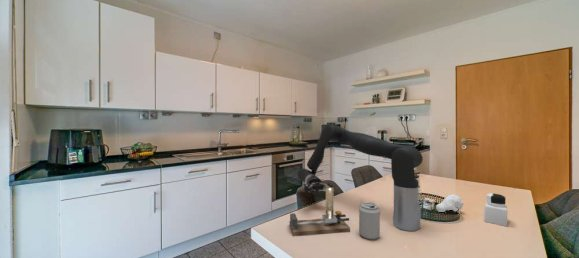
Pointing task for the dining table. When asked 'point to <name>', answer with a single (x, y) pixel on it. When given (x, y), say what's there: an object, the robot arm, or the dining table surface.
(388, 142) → the robot arm
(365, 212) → the can
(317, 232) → the track
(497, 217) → the medicine bottle
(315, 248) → the dining table surface
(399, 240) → the dining table surface
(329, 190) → the slider
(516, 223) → the dining table surface
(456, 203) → the white cloth bundle
